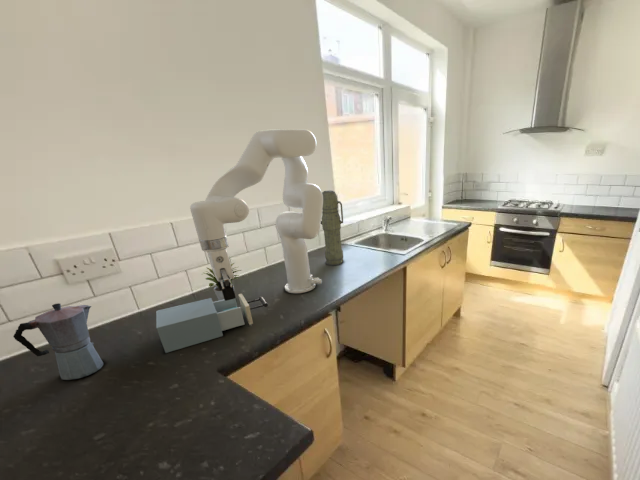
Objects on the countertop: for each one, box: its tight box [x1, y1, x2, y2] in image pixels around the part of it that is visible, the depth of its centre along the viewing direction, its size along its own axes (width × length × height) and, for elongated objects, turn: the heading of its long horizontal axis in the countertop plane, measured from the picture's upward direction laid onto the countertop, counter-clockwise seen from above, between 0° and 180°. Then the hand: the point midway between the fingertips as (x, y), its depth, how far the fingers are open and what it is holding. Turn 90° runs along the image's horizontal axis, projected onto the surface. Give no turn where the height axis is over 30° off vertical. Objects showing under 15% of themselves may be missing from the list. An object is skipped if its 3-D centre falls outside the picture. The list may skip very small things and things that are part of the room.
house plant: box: [201, 262, 242, 301], centre depth 119 cm, size 14×14×16 cm
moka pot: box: [13, 302, 104, 381], centre depth 82 cm, size 10×15×20 cm, turn 161°
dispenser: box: [155, 297, 224, 354], centre depth 100 cm, size 16×13×9 cm
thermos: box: [320, 190, 344, 266], centre depth 155 cm, size 9×12×35 cm
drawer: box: [213, 293, 269, 332], centre depth 107 cm, size 21×11×7 cm, turn 123°
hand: (227, 293), depth 103 cm, fingers open, 9 cm apart
